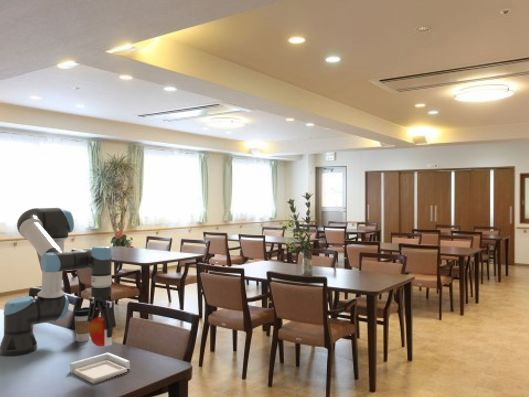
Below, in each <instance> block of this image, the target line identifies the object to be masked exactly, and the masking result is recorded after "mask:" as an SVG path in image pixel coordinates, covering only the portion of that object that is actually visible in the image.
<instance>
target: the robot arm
mask: <svg viewBox="0 0 529 397" xmlns="http://www.w3.org/2000/svg"><path fill="white" fill-rule="evenodd" d="M74 221H75V220H74V216H73V214H72V212H71V211H70V210H69V209H68V208H66V207H65V208H64V207H47V208H46V207H45V208H44V207H41V208H38V207H37V208H36V207H34V208H30V209H28V210H26V211H24V212H22V214H20V216H19V218H18V219H17V222H16V228H17V232H18V233H19V234H20V236H21V237H23V238H24V239H27V240H28V242H29V243H30V244H31V246H32V247H33V248H34V249H35V250H36V252H37V253H38V255H39V256H40V267H41V272H42V275H41V290H40V291H39V292H37V294H36V295H37V297H36V298H34V297H33V296H31V295H29V296H28V295H26V296H25V295H24V296H19V297H18V296H17V297H15V298H13V299H9V300H7V301H6V302H5V304H4V307H3V336H2V340H1V342H0V355H2V356H5V357H8V356H9V357H11V356H15V357H16V356H21V355H27V354H30V353H33V352H34V351H36V350H37V349H38V341H37V339H36V335H35V333H34V325H39V324H44V323H45V324H46V323H51V322H52V323H53V322H56V321H59V320H64V318H65V317H66V316H67V314H68V312H69V307H70V303H69V297H68V296H67V295H66V294H65V291H63V290H62V286H63V272H66V271H75V270H76V271H77V270H85V269H86V270H87V269H89V270H90V271H91V272H90V273H91V279H90V280H91V288H90V290H91V291H90V292H91V294H90V295H91V297H89V300H88V301H89V305H88V307H89V312H88V319H87V321H88V322H90V323H91V321H92V320H93V319H94V318H96V317H100V314H102V317H103V319H104V323H105V326H106V328H105V344H104V346H103V347H109V346H112V345H113V333H112V328H113V329H114V328H116V326H117V324H116V317H115V316H116V314H115V309H114V307H115V306H114V304H115V303H114V301H110V299H109V297H110V296H111V295H112V279H113V278H112V265H113V264H112V261H113V260H112V258H113V254H112V248H111V246H108V245H104V246H103V245H98V246H94V247H92V248H87V249H86V248H85V249H80V250H70V251H68V250H67V251H65V240H67V239H68V238H69V234H70V233H72V232H74V229H75V222H74ZM90 342H92V340H91V339H90Z"/></svg>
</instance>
